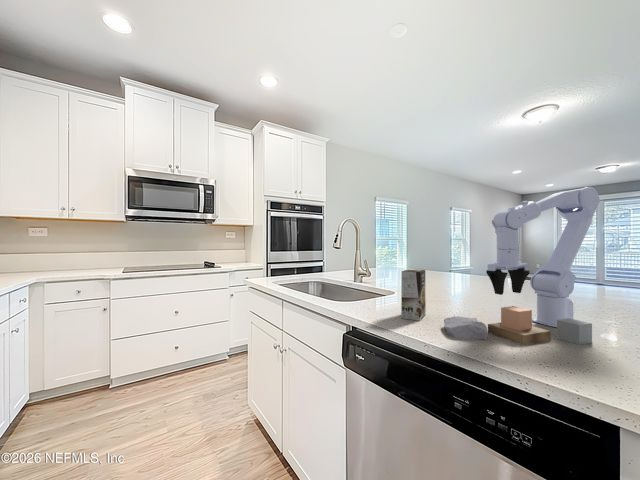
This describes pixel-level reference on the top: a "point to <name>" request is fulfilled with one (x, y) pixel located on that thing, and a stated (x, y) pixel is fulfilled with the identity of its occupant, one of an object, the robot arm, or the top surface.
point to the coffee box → (413, 295)
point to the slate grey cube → (574, 331)
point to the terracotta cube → (516, 318)
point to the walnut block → (520, 334)
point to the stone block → (465, 328)
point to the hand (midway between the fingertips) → (507, 293)
